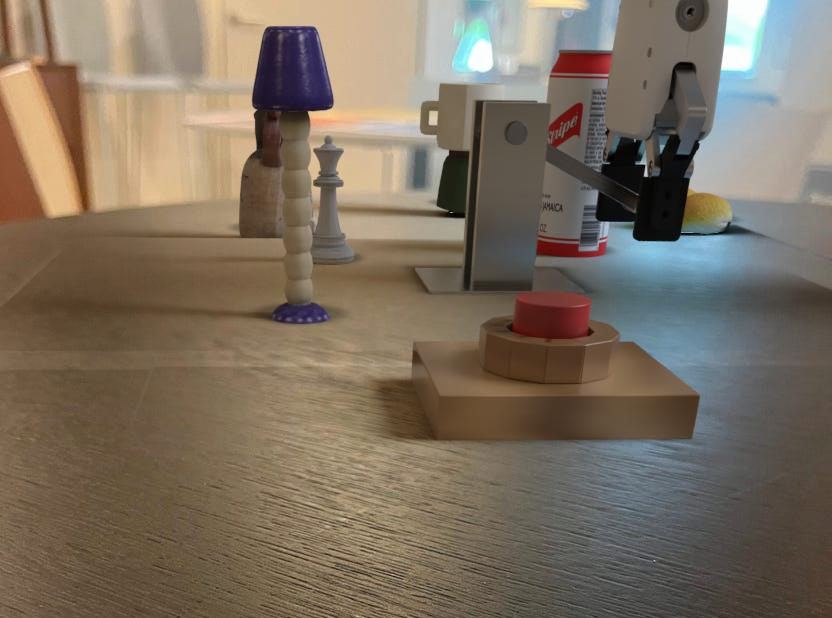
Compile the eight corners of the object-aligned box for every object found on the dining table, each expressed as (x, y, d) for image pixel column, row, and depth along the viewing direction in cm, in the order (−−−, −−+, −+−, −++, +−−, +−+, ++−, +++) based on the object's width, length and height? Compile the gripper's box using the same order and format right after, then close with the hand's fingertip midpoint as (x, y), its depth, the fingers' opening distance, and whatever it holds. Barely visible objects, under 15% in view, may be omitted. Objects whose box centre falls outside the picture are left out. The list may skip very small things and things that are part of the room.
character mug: (515, 213, 117) (527, 84, 110) (508, 221, 111) (520, 85, 104) (421, 208, 119) (428, 81, 113) (409, 216, 113) (415, 82, 107)
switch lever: (626, 220, 76) (644, 188, 75) (648, 230, 72) (667, 196, 71) (476, 135, 73) (493, 101, 72) (489, 141, 68) (507, 104, 67)
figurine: (322, 237, 99) (322, 97, 93) (306, 248, 93) (305, 99, 87) (250, 234, 100) (246, 95, 94) (230, 245, 94) (224, 97, 88)
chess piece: (356, 277, 81) (359, 137, 76) (301, 277, 81) (300, 137, 76) (353, 267, 85) (355, 133, 80) (300, 267, 84) (299, 133, 79)
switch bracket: (553, 284, 80) (573, 100, 74) (583, 309, 72) (609, 105, 66) (414, 283, 79) (422, 97, 73) (429, 308, 71) (440, 102, 65)
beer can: (557, 271, 85) (581, 49, 77) (516, 259, 90) (536, 49, 82) (618, 267, 87) (648, 51, 79) (575, 255, 92) (600, 50, 84)
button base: (627, 381, 56) (639, 306, 54) (692, 441, 47) (708, 354, 45) (410, 382, 55) (414, 306, 53) (436, 442, 47) (441, 354, 45)
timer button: (576, 327, 51) (580, 290, 50) (595, 344, 48) (600, 306, 47) (505, 327, 51) (508, 290, 50) (520, 344, 48) (524, 306, 47)
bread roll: (692, 237, 102) (700, 194, 100) (628, 226, 109) (634, 185, 107) (748, 232, 106) (756, 190, 104) (683, 221, 113) (689, 182, 111)
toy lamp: (324, 345, 62) (325, 24, 54) (250, 340, 63) (239, 23, 54) (339, 327, 66) (342, 27, 58) (269, 323, 67) (262, 26, 58)
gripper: (793, -69, 58) (731, 251, 67) (686, -44, 73) (647, 215, 82) (665, -73, 58) (619, 250, 66) (584, -47, 73) (555, 213, 81)
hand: (634, 229), depth 74 cm, fingers open, 8 cm apart
